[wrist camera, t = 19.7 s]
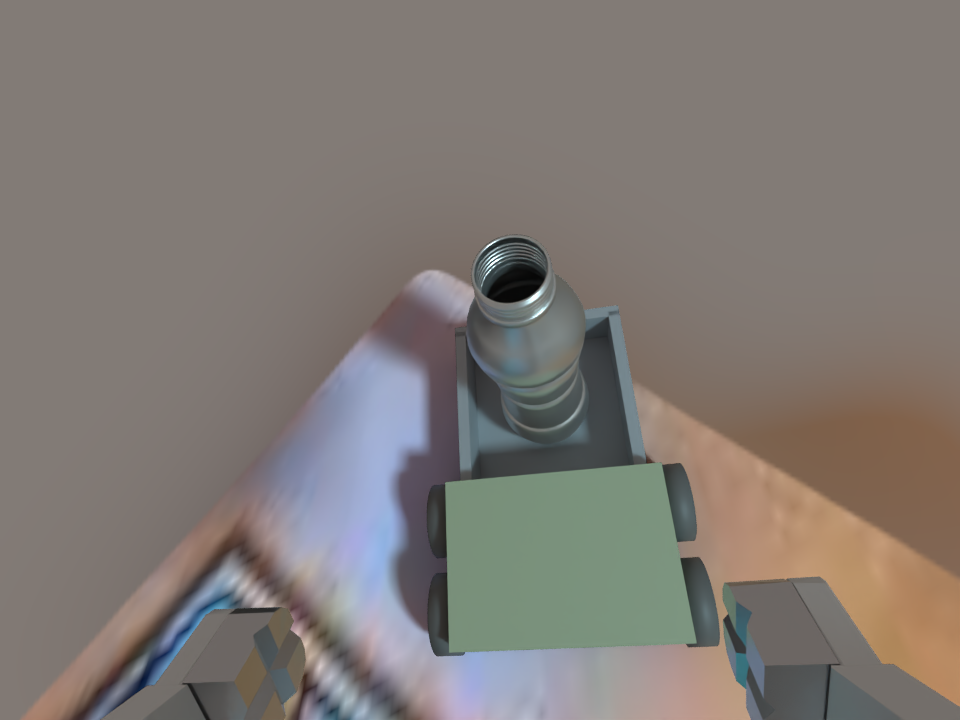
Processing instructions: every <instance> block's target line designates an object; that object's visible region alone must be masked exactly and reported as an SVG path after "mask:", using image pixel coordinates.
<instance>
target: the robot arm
mask: <svg viewBox="0 0 960 720" xmlns="http://www.w3.org/2000/svg"><path fill="white" fill-rule="evenodd" d="M723 602H724V604H725V607H726V609H727V612H728V615H727V616H726V617H725V618H724V619H723V628H724V638H725V644H726V650H727V654H728V658H729V661H730V664H731V667H732V670H733V673H734V676H735V678H736V681H737V682H738V683H740V684H741V685H742V686H743V687H744V688H745V689H746V708H747V710H748V713H749V716H750V718H751V720H960V707H959V706H957V705H956V704H954V703H953V702H951V701H949V700H948V699H946V698H945V697H943V696H942V695H940V694H939V693H937V692H936V691H934V690H933V689H931V688H929V687H928V686H926V685H925V684H923V683H922V682H920V681H919V680H917V679H916V678H914V677H912V676H911V675H909V674H908V673H906V672H905V671H903V670H902V669H900V668H899V667H897V666H895V665H894V664H882V663H881V661H880V660H879V659H878V657H877V656H876V654H875V653H874V651H873V650H872V648H871V647H870V645H869V644H868V642H867V641H866V639H865V638H864V637H863V635H862V634H861V632H860V631H859V629H858V628H857V626H856V625H855V623H854V622H853V620H852V619H851V618H850V616H849V615H848V613H847V612H846V610H845V609H844V607H843V606H842V604H841V603H840V601H839V600H838V598H837V597H836V596H835V594H834V593H833V591H832V590H831V588H830V587H829V585H828V584H827V582H826V581H825V580H823V579H822V578H821V577H805V578H790V579H786V580H785V579H774V580H759V581H743V582H728V583H724V586H723ZM293 622H294V620H293V618H292V616H291V614H290V612H289V609H288V608H282V607H272V608H237V609H214V610H213V611H211V612H210V613H208V614H206V615H205V617H204V618H203V619H202V621H201V622H200V624H199V625H198V626H197V628H196V629H195V630H194V632H193V633H192V635H191V636H190V637H189V639H188V640H187V641H186V643H185V644H184V646H183V647H182V648H181V650H180V651H179V652H178V654H177V655H176V657H175V658H174V659H173V661H172V662H171V663H170V665H169V666H168V668H167V669H166V670H165V672H164V673H163V674H162V676H161V677H160V679H159V680H158V681H157V683H156V684H155V685H151V686H146V687H145V688H143V689H142V690H141V691H139V692H138V693H137V694H135V695H134V696H132V697H131V698H130V699H128V700H127V701H126V702H124V703H123V704H121V705H120V706H119V707H117V708H116V709H115V710H113V711H112V712H110V713H109V714H108V715H106V716H105V717H104V718H102V719H101V720H284V718H285V716H286V714H285V709H284V703H285V702H286V701H287V700H288V699H289V698H290V697H292V696H293V695H294V694H295V693H296V692H297V689H298V687H299V685H300V682H301V680H302V678H303V673H304V667H305V661H306V658H305V649H304V645H303V643H302V640H301V638H300V637H299V636H297V635H296V634H295V633H294V632H292V631H291V630H290V629H291V627H292V624H293Z"/></svg>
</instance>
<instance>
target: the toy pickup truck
mask: <svg viewBox="0 0 960 720" xmlns="http://www.w3.org/2000/svg"><path fill="white" fill-rule="evenodd" d="M584 313H585V318H586V330H585V338H584V343H583V347H582V350H581V354H580V357H579V364H578V367H579V369H580V371H581V373H582V375H583V377H584V379H585V381H586V383H587V387H588V391H589V406H588V411H587V413H586V416H585V418H584V420H583V422H582V423H581V425H580V426H579V428H578V429H577V430H576V431H575V432H574V433H573V434H572V435H571V436H570V437H568V438H567V439H565V440H563V441H560V442H558V443H553V444H538V443H534V442H531V441H529V440H527V439H525V438H523V437H522V436H520V435H519V434H517V433H516V432H515V431H514V430H513V429H512V428H511V427H510V426H509V424H508V422H507V421H506V419H505V416H504V414H503V410H502V404H501V390H500V388H499V386H498V385H497V383H496V382H494V381H493V380H492V379H491V378H490V377H489V376H488V375H487V374H486V373H485V372H484V371H483V370H482V369H481V368H480V366H479V365H478V364H477V362H476V361H475V359H474V358H473V356H472V355H471V352H470V349H469V347H468V343H467V336H466V329H467V327H459V328H455V341H456V370H457V398H458V427H459V455H460V481H453V482H445V485H434V486H432V488H431V490H430V492H429V496H428V503H427V529H428V537H429V542H430V546H431V549H432V552H433V554H434V556H435V557H436V558H445V557H447V573H437V574H435V575H434V577H433V579H432V582H431V585H430V590H429V597H428V631H429V638H430V643H431V647H432V650H433V652H434V654H435V655H436V656H461V655H464V654H465V652H479V651H506V650H533V649H559V648H586V647H613V646H640V645H667V644H686V645H687V646H688V647H709V646H718V645H719V640H720V632H719V621H718V614H717V608H716V603H715V599H714V594H713V590H712V587H711V583H710V580H709V577H708V574H707V571H706V568H705V566H704V564H703V562H702V560H701V559H700V558H699V557H692V558H680V555H679V550H678V544H677V542H682V541H694V540H695V539H696V533H697V525H696V514H695V507H694V501H693V496H692V491H691V487H690V484H689V480H688V477H687V474H686V472H685V469H684V467H683V466H682V464H680V463H676V464H665V465H662V463H650V464H647V462H646V456H645V451H644V445H643V440H642V434H641V429H640V423H639V418H638V413H637V407H636V402H635V396H634V391H633V385H632V380H631V374H630V369H629V364H628V358H627V353H626V347H625V342H624V337H623V331H622V326H621V320H620V314H619V309H618V306H610V307H602V308H595V309H588V310H584Z"/></svg>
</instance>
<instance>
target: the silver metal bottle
mask: <svg viewBox="0 0 960 720" xmlns="http://www.w3.org/2000/svg"><path fill="white" fill-rule="evenodd" d="M471 280H472V286H473V288H474V293H475V297H474V299H473V301H472V304H471V306H470V309H469V313H468V317H467V329H466V336H467V343H468V347H469V349H470V352H471V355H472V356H473V358H474V359H475V361H476V362H477V364H478V365H479V366H480V368H481V369H482V370H483V371H484V372H485V373H486V374H487V375H488V376H489V377H490V378H491V379H492V380H493V381H494V382H496V383H497V385H498V386H499V388H500V390H501V404H502V410H503V414H504V416H505V419H506V421H507V422H508V424H509V426H510V427H511V428H512V429H513V430H514V431H515V432H516V433H517V434H519V435H520V436H522V437H523V438H525V439H527V440H529V441H531V442H534V443H538V444H553V443H558V442H560V441H563V440H565V439H567V438H568V437H570V436H571V435H572V434H573V433H574V432H575V431H576V430H577V429H578V428H579V426H580V425H581V423H582V422H583V420H584V418H585V416H586V413H587V411H588V406H589V391H588V387H587V383H586V381H585V379H584V377H583V375H582V373H581V371H580V369H579V367H578V364H579V357H580V354H581V350H582V347H583V343H584V338H585V330H586V318H585V313H584V309H583V306H582V303H581V301H580V300H579V298H578V296H577V294H576V293H575V292H574V291H573V289H572V288H571V287H570V286H569V285H568V283H567V282H566V281H564V280H563V279H562V278H561V277H559V276H558V275H556V274H554V271H553V269H552V263H551V259H550V257H549V254H548V252H547V251H546V249H545V248H544V246H543V245H542V244H541V243H539V242H538V241H537V240H535V239H533V238H531V237H529V236H525V235H518V234H514V235H505V236H502V237H499V238H496V239H494V240H492V241H491V242H489V243H488V244H487V245H485V246H484V247H483V248H482V249H481V250H480V251H479V253H478V254H477V256H476V257H475V259H474V261H473V265H472V269H471Z"/></svg>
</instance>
